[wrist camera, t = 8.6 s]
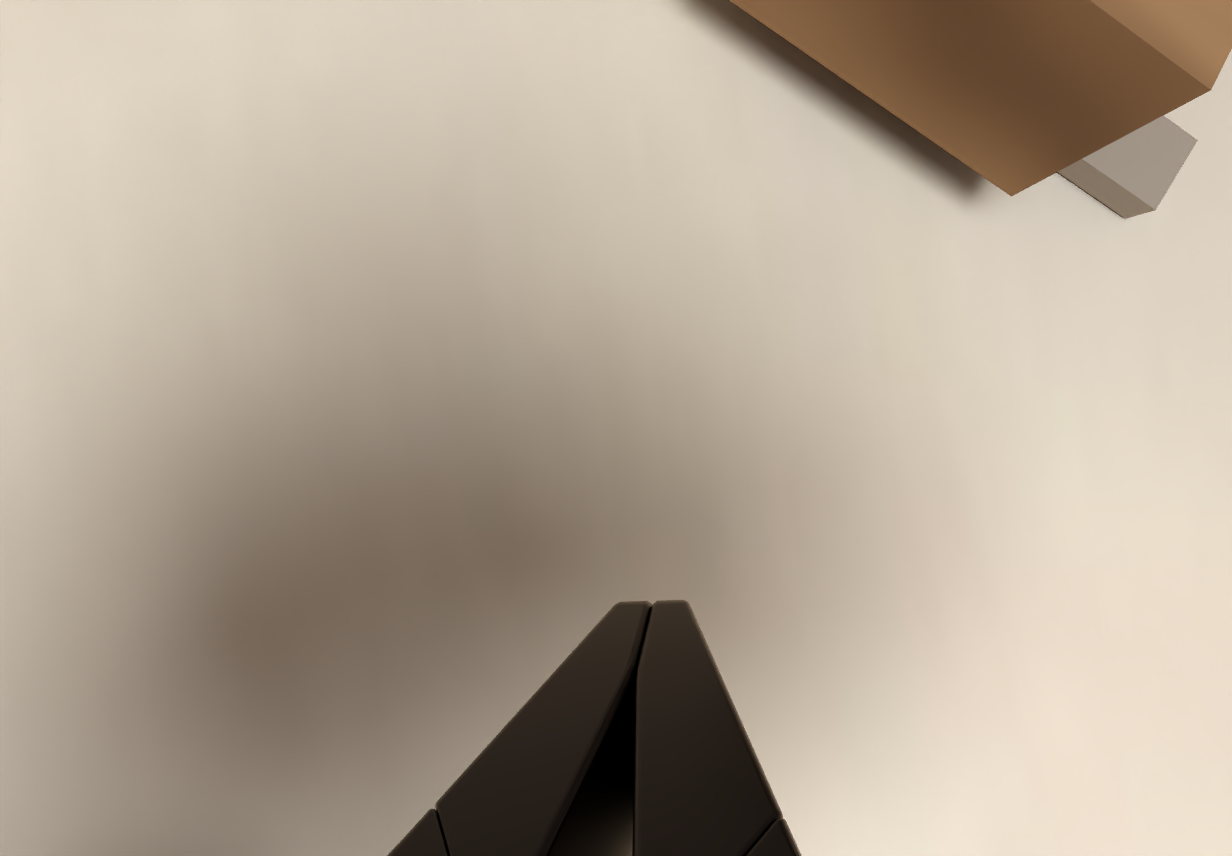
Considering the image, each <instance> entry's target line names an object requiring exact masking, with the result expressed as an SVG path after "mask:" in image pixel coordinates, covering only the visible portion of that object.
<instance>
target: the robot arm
mask: <svg viewBox="0 0 1232 856" xmlns="http://www.w3.org/2000/svg"><path fill="white" fill-rule="evenodd" d="M435 807H436V810H435V809H430V810H429V811H428V812H427V813H426V814H425V815H424V816H423V817H422V819H421V820H420V821H419V822H418V823H417V824H416V825H415V826H414V827H413V829H412V830H411V831H410V832H409V833H408V834H407V835H406V836H405V837H404V838H403V839H402V840H401V842H400V843H399V844H398V845H397V846H396V847H395V848H394V849H393V850H392V851H391V852H390V853H389V854H388V855H387V856H801V854H800V852H799V849H798V847H797V845H796V843H795V840H794V838H793V836H792V834H791V831H790V829H789V827H788V825H787V822H786V821H785V820H784V819H783V815H782V812H781V810H780V808H779V805H778V803H777V801H776V799H775V796H774V794H773V792H772V790H771V787H770V785H769V783H768V780H767V778H766V776H765V774H764V771H763V769H762V767H761V765H760V762H759V760H758V758H757V756H756V753H755V751H754V749H753V747H752V744H751V742H750V740H749V738H748V735H747V733H746V731H745V729H744V726H743V724H742V722H741V720H740V717H739V715H738V713H737V711H736V708H735V706H734V704H733V702H732V699H731V697H730V695H729V692H728V690H727V688H726V686H725V683H724V681H723V679H722V677H721V674H720V672H719V670H718V668H717V665H716V663H715V661H714V659H713V656H712V654H711V652H710V650H709V647H708V645H707V643H706V641H705V638H704V636H703V634H702V632H701V629H700V627H699V625H698V623H697V620H696V618H695V616H694V613H693V611H692V609H691V607H690V605H689V603H688V602H687V601H685V600H665V601H656V602H655V603H654V604H653V605H652V604H651V603H650V602H648V601H629V602H619V603H617V604H616V605H614V606H613V608H612V609H611V610H610V611H609V612H608V613H607V614H606V615H605V616H604V617H603V619H602V620H601V621H600V622H599V623H598V624H597V625H596V626H595V627H594V629H593V630H592V631H591V632H590V633H589V634H588V635H587V636H586V637H585V639H584V640H583V641H582V642H581V643H580V644H579V645H578V646H577V647H576V648H575V650H574V651H573V652H572V653H571V654H570V655H569V656H568V657H567V658H566V660H565V661H564V662H563V663H562V664H561V665H560V666H559V667H558V668H557V670H556V671H555V672H554V673H553V674H552V675H551V676H550V677H549V678H548V679H547V681H546V682H545V683H544V684H543V685H542V686H541V687H540V688H539V689H538V691H537V692H536V693H535V694H534V695H533V696H532V697H531V698H530V699H529V701H528V702H527V703H526V704H525V705H524V706H523V707H522V708H521V709H520V710H519V712H518V713H517V714H516V715H515V716H514V717H513V718H512V719H511V720H510V722H509V723H508V724H507V725H506V726H505V727H504V728H503V729H502V730H501V732H500V733H499V734H498V735H497V736H496V737H495V738H494V739H493V740H492V741H491V743H490V744H489V745H488V746H487V747H486V748H485V749H484V750H483V751H482V753H481V754H480V755H479V756H478V757H477V758H476V759H475V760H474V761H473V763H472V764H471V765H470V766H469V767H468V768H467V769H466V770H465V771H464V772H463V774H462V775H461V776H460V777H459V778H458V779H457V780H456V781H455V782H454V784H453V785H452V786H451V787H450V788H449V789H448V790H447V791H446V792H445V794H444V795H443V796H442V797H441V798H440V799H439V800H438V801H437V802H436V805H435Z"/></svg>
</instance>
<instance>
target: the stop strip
mask: <svg viewBox="0 0 1232 856" xmlns="http://www.w3.org/2000/svg"><path fill="white" fill-rule="evenodd" d="M1196 142H1197V139H1195V138H1194V137H1192V136H1191V135H1190V134H1188V133H1187V132H1185V131H1184V130H1183V129H1181V128H1180V127H1178V126H1177V125H1176V124H1174V123H1173V122H1171V121H1170V120H1169V119H1167V118H1166V117H1164V116H1161V117H1159V118H1157V119H1156V120H1154V121H1152V122H1150V123H1148V124H1146V125H1144V126H1142V127H1141V128H1139V129H1137V130H1135V131H1133V132H1131V133H1129V134H1127V135H1126V136H1124V137H1122V138H1120V139H1118V140H1116V141H1114V142H1112V143H1111V144H1109V145H1107V146H1105V147H1103V148H1101V149H1099V150H1097V151H1096V152H1094V153H1092V154H1090V155H1088V156H1086V157H1084V158H1082V159H1081V160H1079V161H1077V162H1075V163H1073V164H1071V165H1069V166H1067V167H1066V168H1064V169H1062V170H1060V171H1058V173H1060V174H1061V175H1063V176H1064V177H1065V178H1067V179H1068V180H1070V181H1071V182H1073V183H1074V184H1076V185H1077V186H1078V187H1080V188H1081V189H1083V190H1084V191H1086V192H1087V193H1089V194H1090V195H1092V196H1093V197H1094V198H1096V199H1097V200H1099V201H1100V202H1102V203H1103V204H1105V205H1106V206H1108V207H1109V208H1110V209H1112V210H1113V211H1115V212H1116V213H1118V214H1119V215H1121V216H1122V217H1124V218H1129V217H1132V216H1136V215H1140V214H1143V213H1147V212H1150V211H1154V210H1156V209H1157V207H1158V205H1159V204H1160V202H1161V200H1162V199H1163V197H1164V195H1165V194H1166V192H1167V190H1168V189H1169V187H1170V185H1171V184H1172V182H1173V180H1174V179H1175V177H1176V175H1177V174H1178V172H1179V170H1180V169H1181V167H1182V165H1183V164H1184V162H1185V160H1186V159H1187V157H1188V155H1189V154H1190V152H1191V150H1192V149H1193V147H1194V145H1195V144H1196Z"/></svg>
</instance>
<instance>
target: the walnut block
mask: <svg viewBox="0 0 1232 856" xmlns="http://www.w3.org/2000/svg"><path fill="white" fill-rule="evenodd" d="M730 1H731V2H732V3H734V4H735V5H737V6H738V7H740V8H741V9H742V10H744V11H745V12H747V13H748V14H750V15H751V16H753V17H754V18H755V19H757V20H758V21H760V22H761V23H763V24H764V25H765V26H767V27H768V28H770V29H771V30H773V31H774V32H776V33H777V34H778V35H780V36H781V37H783V38H784V39H786V40H787V41H789V42H790V43H791V44H793V45H794V46H796V47H797V48H799V49H800V50H801V51H803V52H804V53H806V54H807V55H809V56H810V57H812V58H813V59H814V60H816V61H817V62H819V63H820V64H822V65H823V66H824V67H826V68H827V69H829V70H830V71H832V72H833V73H835V74H836V75H837V76H839V77H840V78H842V79H843V80H845V81H846V82H848V83H849V84H850V85H852V86H853V87H855V88H856V89H858V90H859V91H860V92H862V93H863V94H865V95H866V96H868V97H869V98H871V99H872V100H873V101H875V102H876V103H878V104H879V105H881V106H882V107H883V108H885V109H886V110H888V111H889V112H891V113H892V114H894V115H895V116H896V117H898V118H899V119H901V120H902V121H904V122H905V123H907V124H908V125H909V126H911V127H912V128H914V129H915V130H917V131H918V132H919V133H921V134H922V135H924V136H925V137H927V138H928V139H930V140H931V141H932V142H934V143H935V144H937V145H938V146H940V147H941V148H942V149H944V150H945V151H947V152H948V153H950V154H951V155H953V156H954V157H955V158H957V159H958V160H960V161H961V162H963V163H964V164H966V165H967V166H968V167H970V168H971V169H973V170H974V171H976V172H977V173H978V174H980V175H981V176H983V177H984V178H986V179H987V180H989V181H990V182H991V183H993V184H994V185H996V186H997V187H999V188H1000V189H1001V190H1003V191H1004V192H1006V193H1007V194H1009V195H1010V196H1013V195H1015V194H1017V193H1019V192H1021V191H1022V190H1024V189H1026V188H1028V187H1030V186H1032V185H1034V184H1036V183H1037V182H1039V181H1041V180H1043V179H1045V178H1047V177H1049V176H1051V175H1052V174H1054V173H1056V172H1058V171H1060V170H1062V169H1064V168H1066V167H1067V166H1069V165H1071V164H1073V163H1075V162H1077V161H1079V160H1081V159H1082V158H1084V157H1086V156H1088V155H1090V154H1092V153H1094V152H1096V151H1097V150H1099V149H1101V148H1103V147H1105V146H1107V145H1109V144H1111V143H1112V142H1114V141H1116V140H1118V139H1120V138H1122V137H1124V136H1126V135H1127V134H1129V133H1131V132H1133V131H1135V130H1137V129H1139V128H1141V127H1142V126H1144V125H1146V124H1148V123H1150V122H1152V121H1154V120H1156V119H1157V118H1159V117H1161V116H1163V115H1165V114H1167V113H1169V112H1171V111H1172V110H1174V109H1176V108H1178V107H1180V106H1182V105H1184V104H1186V103H1187V102H1189V101H1191V100H1193V99H1195V98H1197V97H1199V96H1201V95H1202V94H1204V93H1206V92H1208V91H1210V90H1211V89H1212V87H1213V85H1214V83H1215V81H1216V79H1217V77H1218V75H1219V73H1220V71H1221V69H1222V67H1223V65H1224V63H1225V61H1226V59H1227V57H1228V55H1229V53H1230V51H1231V49H1232V0H730Z"/></svg>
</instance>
